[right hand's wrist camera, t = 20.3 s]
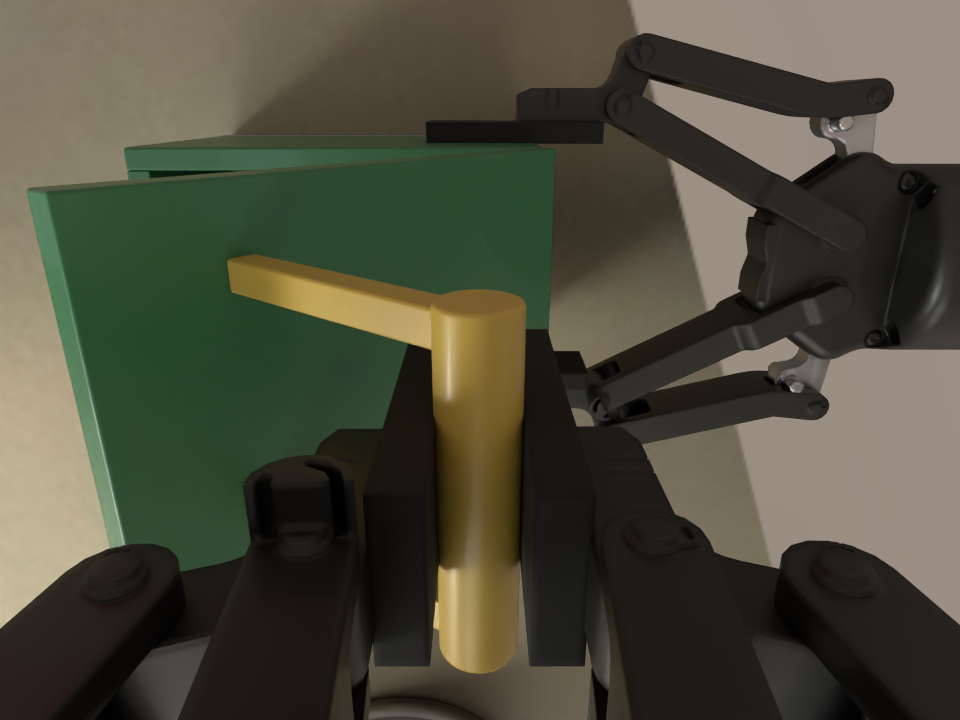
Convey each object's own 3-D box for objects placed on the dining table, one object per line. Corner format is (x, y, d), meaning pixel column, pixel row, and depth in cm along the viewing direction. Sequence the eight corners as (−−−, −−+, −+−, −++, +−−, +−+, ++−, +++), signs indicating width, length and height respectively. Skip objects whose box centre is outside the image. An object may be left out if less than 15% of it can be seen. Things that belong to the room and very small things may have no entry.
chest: (253, 321, 35) (168, 403, 25) (230, 134, 31) (122, 147, 22) (518, 320, 35) (535, 402, 25) (522, 134, 32) (544, 147, 22)
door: (128, 631, 14) (376, 872, 10) (24, 187, 11) (324, 244, 6) (527, 404, 25) (731, 470, 20) (534, 147, 22) (779, 158, 17)
